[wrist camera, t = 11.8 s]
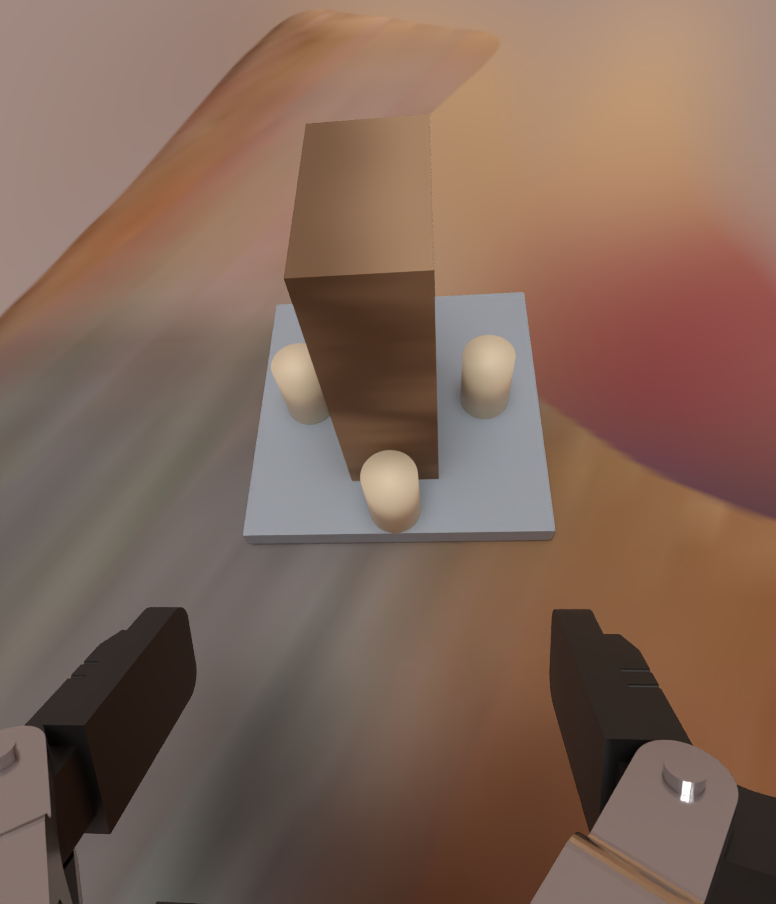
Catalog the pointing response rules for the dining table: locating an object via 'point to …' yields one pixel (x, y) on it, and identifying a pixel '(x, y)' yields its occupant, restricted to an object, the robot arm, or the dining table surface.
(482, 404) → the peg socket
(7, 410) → the dining table surface
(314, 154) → the brown rectangular block
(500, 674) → the dining table surface
